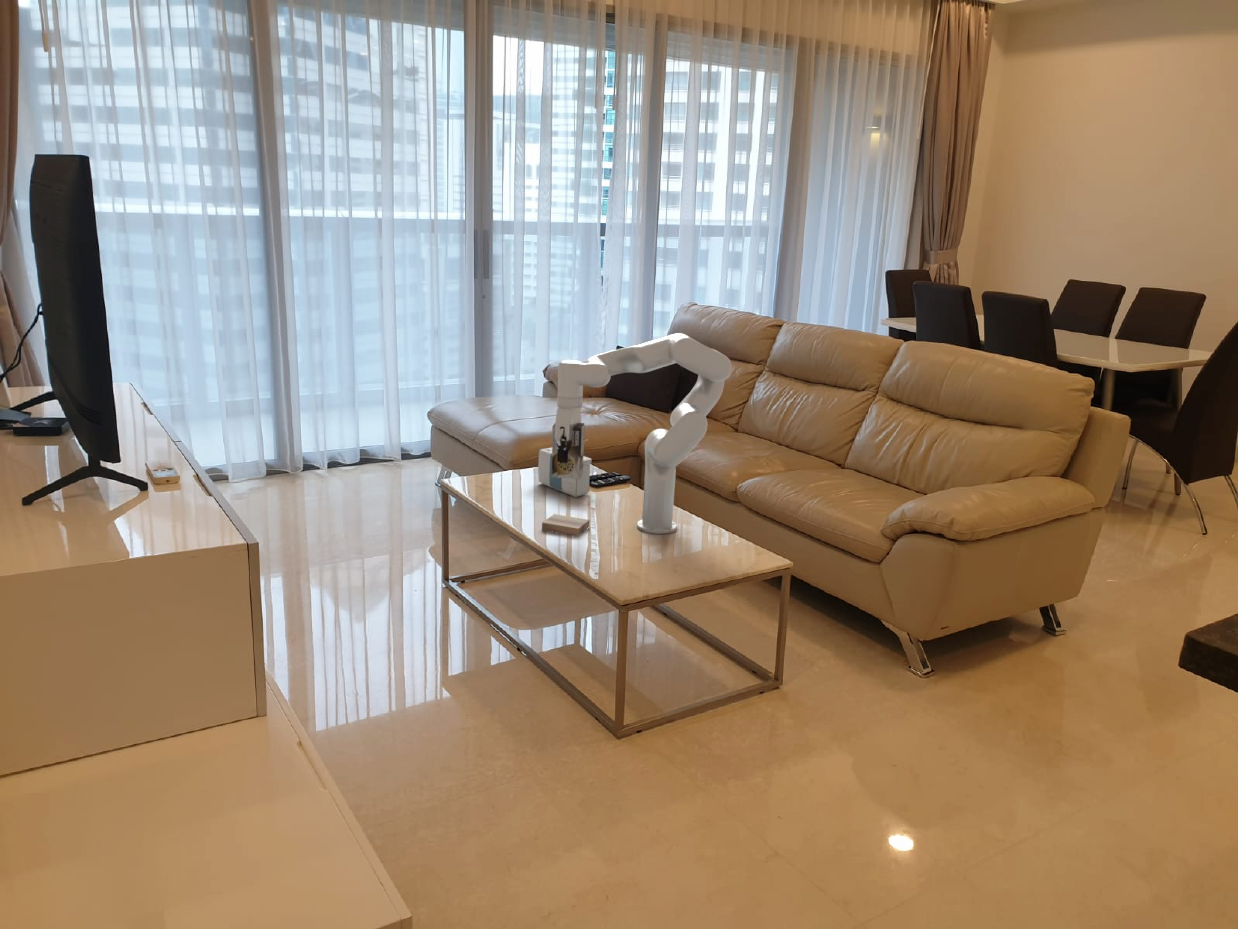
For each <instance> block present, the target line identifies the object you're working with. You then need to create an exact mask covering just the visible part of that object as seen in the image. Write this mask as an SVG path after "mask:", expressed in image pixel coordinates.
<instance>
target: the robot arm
mask: <svg viewBox="0 0 1238 929" xmlns="http://www.w3.org/2000/svg"><path fill="white" fill-rule="evenodd" d="M673 364H677V365H678V366H679V365H680V367H682V368H685V369H687V370H688V371H690V372H692V373H694V374H696V375H698V376H697V380H696V382H695V384H694V386H693V387H692V389H691V390H690V392H689V393H688V394H687V395H686V396H685V397H684V398H683V399H682V400H681V402H680V403H678V405H677V406H676V407H674V409H673V411H672V412H671V414H670V418H669V421H670V425H671V427H670V428H669V429H667V428H666V429H665V428H656V429H654V430H652V431H651V432H650V433H649V434H648V435H647V437H646V440H645V442H644V463H645V465H644V467H645V468H644V485H643V500H642V502H643V503H642V514H641V515H642V518H641V519H639V520H638V521H637V522H636V527H637V529H638V530H640V531H642V532H644V533H648V534H656V535H664V534H671V533H674V532H675V531H676V530H677V529H678V525H677V523H676V522H675V521H673V515H674V503H675V502H674V501H675V489H676V488H675V486H676V485H675V484H676V475H677V474H676V473H677V472H676V470H677V469H676V468H677V466H678V465H679V464H680V463H682V462H683V461H684V460H685V459H686V457H687V456H688V455H689V454H690V453H691V452H692V451H693V449H695V447H696V446H697V445H698V444H699V443H700V442H701V441H702V439H703V438H704V437H705V435H706V433H707V430H708V426H709V425H708V424H709V423H708V419H707V416H708V414H709V413H710V412H711V411H712V409H713V408H714V407H715V406H716V405H717V403H718V401H719V400H720V398H721V397H722V395H723V391H724V388H725V381H726V380H727V379H728V378H729V377H730V376H731V374H732V370H733V365H732V361H731V360H730V358H729V357H728V356H727V355H725V354H723V353H721V352H720V351H718V350H716V349H714V348H710V346H709V347H708V346H707V345H704V344H703V343H701V342H700V341H698V340H695V339H694V338H692V337H690V336H689V335H687V334H684V333H682V332H678V333H677V332H675V333H673V334H669V335H667V336H664V337H659V338H657V339H653V340H650V341H646V342H643V343H640V344H637V345H632V346H628V347H622V348H618V349H614V350H609V351H607V352H603V353H599V354H597V355H596V354H595V355H594V356H590V357H589V358H587V359H586V360H584V362H582V361H580V360H576V359H565V360H561V361H559V362H558V368H557V369H558V371H557V373H558V374H557V400H556V404H557V405H556V406H557V410H556V415H555V421H554V424H555V436H554V437H555V439H556V442H557V449H558V453H557V461H558V462H563V463H567V462H568V450H567V447H568V442H569V441H570V440H571V438H572V431H573V427H575V426H576V425H578V424H580V423H582V408H583V402H584V401H583V398H584V394H583V393H584V387H592V388H602V387H605V386H607V384H609V382H610V380H611V378H612V377H611V376H615V375H619V374H624V373H635V374H645V373H649V372H652V371H655V370H658V369H662V368H663V367H668V366H670V365H673ZM563 435H564V437H567V439H562V437H563ZM563 442H565V445H564V443H563Z"/></svg>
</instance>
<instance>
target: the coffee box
mask: <svg viewBox="0 0 1238 929" xmlns="http://www.w3.org/2000/svg"><path fill="white" fill-rule="evenodd" d="M551 427H552V428H551V429H552V430H551V431H552V432H551V436H552V438H551V439H552V440H551V441H552V445H551V448H552V476H551V477H556V478H572V479H581V477H582V475H583V456H585V455H584V454H585V452H584V450H585V448H584V446H585V442H584V441H585V423H584V422H581V423H580V424H578V425H576V426H575V427H573V431H572V438H571V440H570V441H569V442H568V447H567V450H568V462H567V463H563V462H558V461H557V453H558V449H557V442H556V439H555V437H554V436H555V423H554V424H553V425H552V426H551ZM562 439H567V437H564V435H563V437H562ZM563 443H564V445H565V442H563Z"/></svg>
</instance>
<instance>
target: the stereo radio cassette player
mask: <svg viewBox="0 0 1238 929" xmlns="http://www.w3.org/2000/svg"><path fill="white" fill-rule="evenodd" d="M586 441H589V439H588V438H587V439H584V443H585V442H586ZM537 463H538V465H537V466H538V468H537V469H538V470H537V473H538V474H537V475H538V482H540V483H541V484H542V485H543V484H544V485H545V486H546V487H549V488H552V489H555V490H556V491H560V492H562V493H565V494H567V495H570V496H571V497H574V498H577V497H580V496H581V497H582V496H584V495H585V494H586V495H588V493H590V478H591V477H590V475H591V474H590V473H591V465H592V458H591V457H588V456H585V455H583V475H582V477H581V479H572V478H556V477H551V476H552V447H547V448H541V449H539V451H538V462H537Z"/></svg>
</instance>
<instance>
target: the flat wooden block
mask: <svg viewBox="0 0 1238 929" xmlns="http://www.w3.org/2000/svg"><path fill="white" fill-rule="evenodd" d="M588 527H589V528H590V520H589V519H586V518H585V519H584V518H579V517H573V516H567V515H562V514H555V513H554V514H552V515H550V517H548V518H547V519H545V520H544V521H542V522H541V531H545V532H550V531H553V532H552V533H556V532H557V534H562V535H567V534H569V535H568V536H573V535H574V536H575V537H580V535H582V534H583V533H584V532H586V529H587V528H588ZM589 528H588V529H589ZM588 529H587V530H588ZM574 536H573V537H574Z"/></svg>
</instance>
